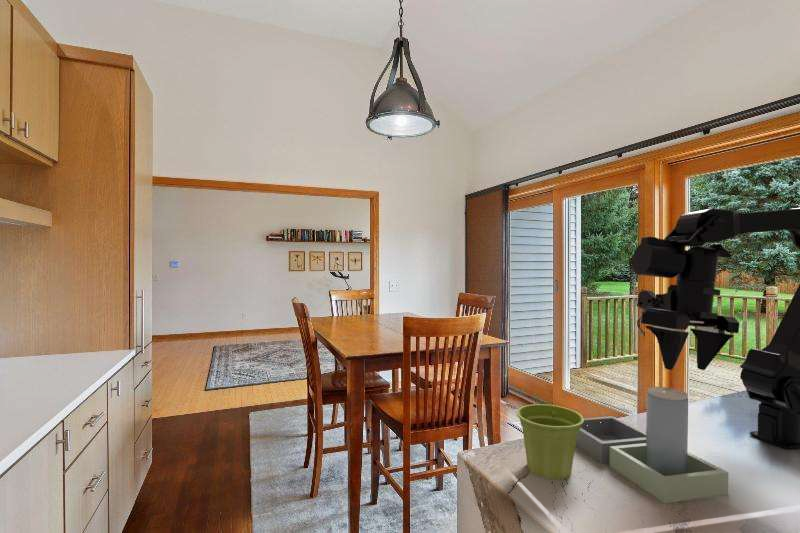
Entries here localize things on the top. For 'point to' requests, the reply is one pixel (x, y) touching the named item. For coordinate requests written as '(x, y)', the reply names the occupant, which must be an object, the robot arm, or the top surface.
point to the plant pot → (550, 438)
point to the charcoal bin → (606, 436)
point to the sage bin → (673, 488)
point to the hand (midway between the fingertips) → (685, 369)
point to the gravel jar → (667, 430)
